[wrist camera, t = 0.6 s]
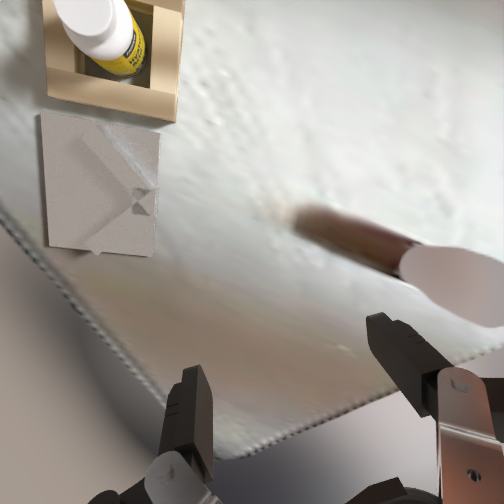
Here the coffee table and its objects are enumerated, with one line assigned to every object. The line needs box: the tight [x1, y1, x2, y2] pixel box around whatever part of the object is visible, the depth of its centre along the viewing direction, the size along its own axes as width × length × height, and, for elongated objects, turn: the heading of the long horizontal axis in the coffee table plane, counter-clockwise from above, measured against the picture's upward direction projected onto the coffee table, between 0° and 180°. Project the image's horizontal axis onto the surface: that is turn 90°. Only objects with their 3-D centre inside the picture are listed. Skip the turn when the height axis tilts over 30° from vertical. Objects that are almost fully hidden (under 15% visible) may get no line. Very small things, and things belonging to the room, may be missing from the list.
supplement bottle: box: [53, 0, 147, 77], centre depth 24 cm, size 5×5×10 cm
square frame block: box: [42, 0, 185, 122], centre depth 28 cm, size 12×12×2 cm
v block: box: [40, 111, 161, 257], centre depth 32 cm, size 15×12×4 cm
